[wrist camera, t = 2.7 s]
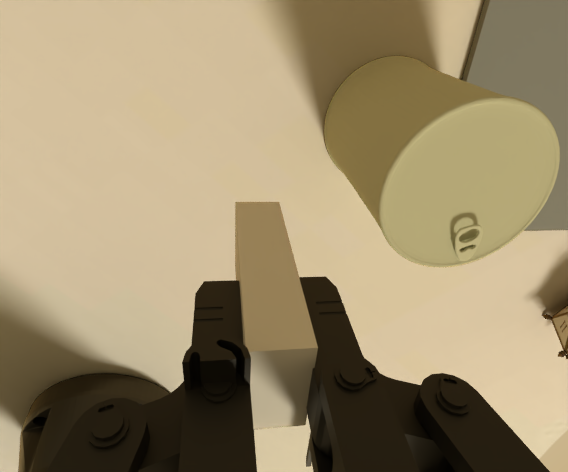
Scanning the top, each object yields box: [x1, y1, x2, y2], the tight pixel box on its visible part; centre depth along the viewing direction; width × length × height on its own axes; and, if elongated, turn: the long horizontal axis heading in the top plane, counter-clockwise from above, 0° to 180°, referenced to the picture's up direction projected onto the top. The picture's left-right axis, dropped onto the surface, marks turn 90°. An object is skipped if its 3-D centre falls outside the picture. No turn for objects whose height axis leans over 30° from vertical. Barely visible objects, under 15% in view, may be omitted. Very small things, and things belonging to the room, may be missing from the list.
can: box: [324, 56, 560, 267], centre depth 24 cm, size 9×9×12 cm
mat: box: [462, 0, 568, 231], centre depth 31 cm, size 18×18×1 cm
